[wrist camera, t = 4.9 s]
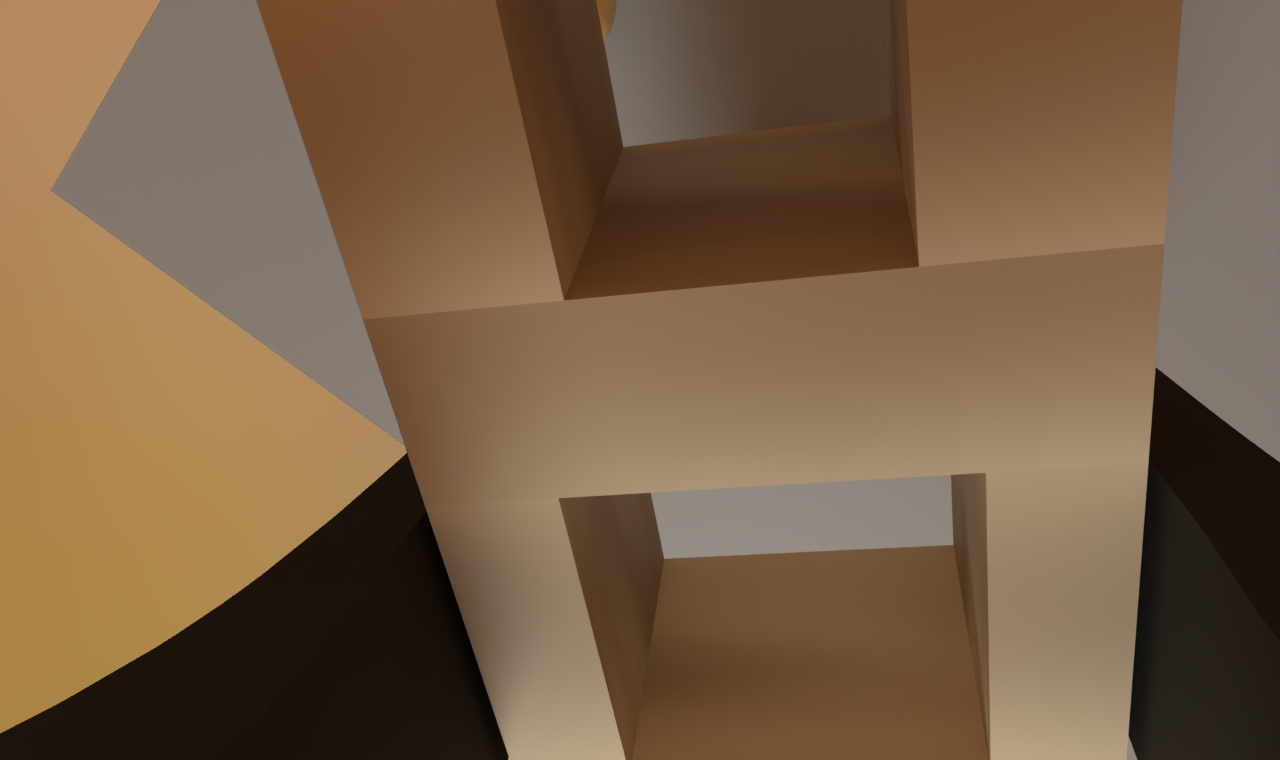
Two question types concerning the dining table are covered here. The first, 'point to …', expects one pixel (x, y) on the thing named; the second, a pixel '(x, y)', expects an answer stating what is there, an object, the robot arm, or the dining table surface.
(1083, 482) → the tan block
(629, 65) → the board
